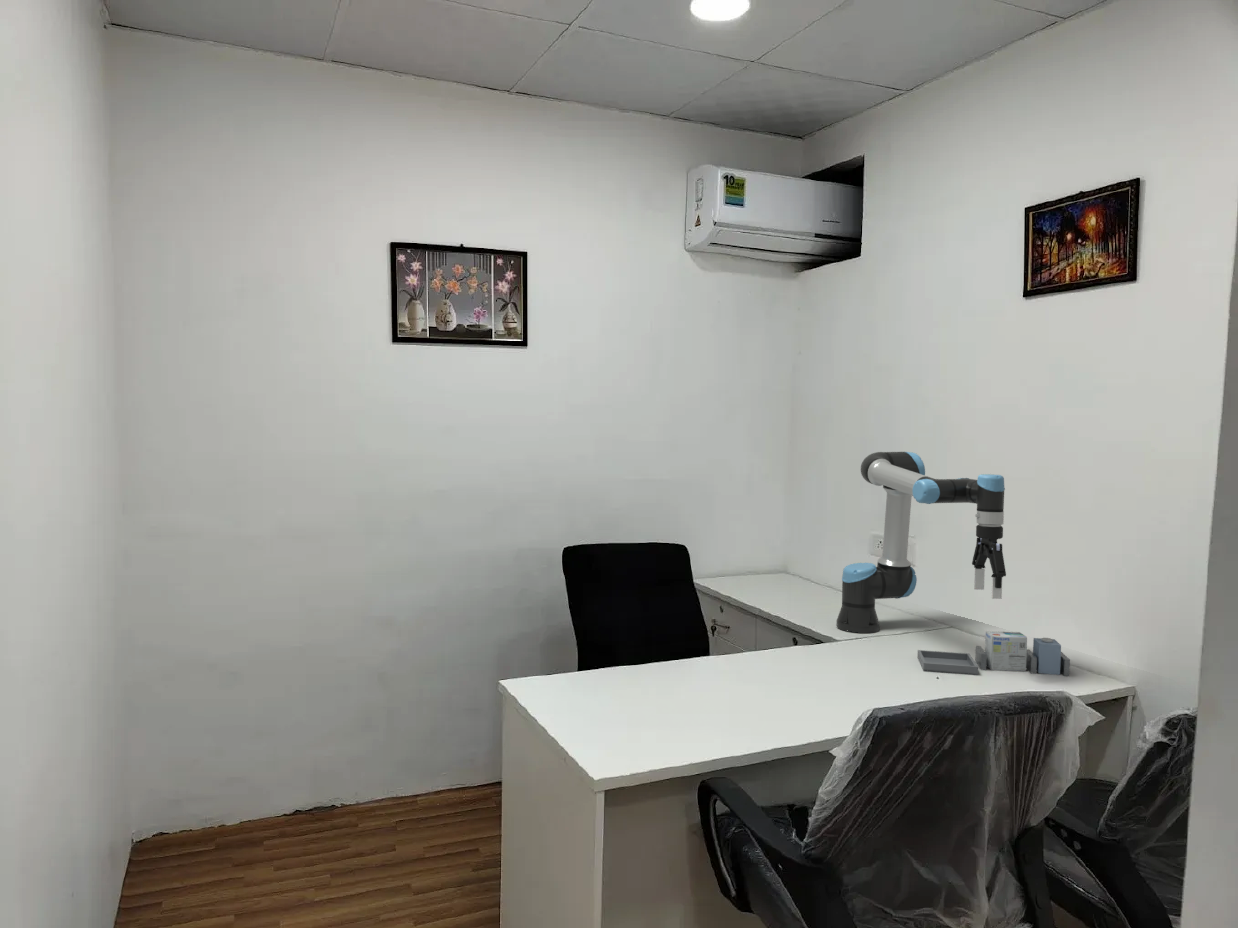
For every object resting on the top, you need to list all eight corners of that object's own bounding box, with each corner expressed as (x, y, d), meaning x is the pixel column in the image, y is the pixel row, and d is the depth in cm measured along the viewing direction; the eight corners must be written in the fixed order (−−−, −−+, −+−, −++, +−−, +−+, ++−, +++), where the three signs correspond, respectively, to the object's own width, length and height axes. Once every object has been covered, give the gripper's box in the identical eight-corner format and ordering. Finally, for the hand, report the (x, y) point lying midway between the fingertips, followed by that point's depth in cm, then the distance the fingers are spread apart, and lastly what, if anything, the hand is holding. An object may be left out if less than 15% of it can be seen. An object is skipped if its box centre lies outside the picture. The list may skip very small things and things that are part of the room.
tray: (917, 657, 270) (917, 649, 270) (969, 661, 267) (969, 653, 267) (923, 671, 256) (923, 663, 256) (978, 675, 253) (978, 666, 252)
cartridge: (1032, 666, 262) (1033, 635, 261) (1053, 667, 261) (1054, 636, 260) (1038, 672, 255) (1039, 641, 255) (1059, 674, 254) (1061, 642, 253)
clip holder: (975, 661, 267) (975, 645, 266) (1060, 667, 261) (1061, 651, 261) (980, 669, 258) (981, 653, 258) (1069, 676, 252) (1070, 659, 252)
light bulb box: (1018, 665, 263) (1020, 631, 263) (1027, 671, 257) (1028, 636, 256) (983, 663, 264) (984, 630, 264) (990, 670, 258) (992, 635, 257)
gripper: (962, 520, 269) (960, 585, 270) (993, 530, 244) (991, 602, 245) (986, 520, 269) (984, 585, 270) (1019, 530, 244) (1017, 602, 245)
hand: (987, 593), depth 258 cm, fingers open, 13 cm apart
